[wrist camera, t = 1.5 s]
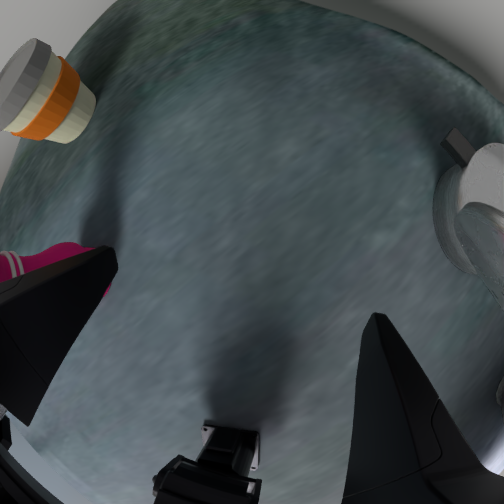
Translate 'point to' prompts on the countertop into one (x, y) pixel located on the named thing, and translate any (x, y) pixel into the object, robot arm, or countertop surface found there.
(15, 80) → the reusable coffee cup
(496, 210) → the steel lid
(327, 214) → the countertop surface
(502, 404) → the mortar and pestle
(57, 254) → the pepper mill
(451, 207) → the steel pot
